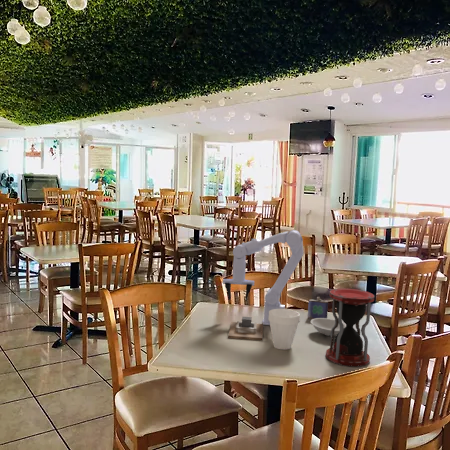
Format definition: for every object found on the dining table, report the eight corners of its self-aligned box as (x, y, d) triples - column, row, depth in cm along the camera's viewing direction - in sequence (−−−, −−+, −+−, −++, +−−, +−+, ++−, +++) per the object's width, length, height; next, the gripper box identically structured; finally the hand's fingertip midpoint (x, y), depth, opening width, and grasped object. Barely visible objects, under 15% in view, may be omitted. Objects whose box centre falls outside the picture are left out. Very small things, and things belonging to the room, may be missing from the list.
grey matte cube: (251, 328, 208) (251, 317, 207) (250, 331, 204) (251, 319, 203) (242, 327, 208) (242, 316, 208) (241, 330, 204) (241, 319, 204)
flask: (307, 318, 230) (308, 296, 229) (307, 316, 233) (309, 295, 232) (326, 320, 228) (328, 298, 227) (327, 319, 231) (328, 297, 230)
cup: (273, 353, 182) (275, 318, 181) (262, 342, 194) (264, 309, 193) (303, 351, 186) (305, 316, 184) (290, 340, 198) (292, 308, 196)
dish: (354, 340, 201) (355, 329, 200) (324, 343, 195) (325, 331, 195) (330, 327, 217) (331, 316, 217) (302, 330, 212) (303, 319, 211)
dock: (262, 326, 215) (263, 319, 215) (262, 340, 196) (262, 333, 196) (231, 324, 216) (231, 317, 216) (228, 338, 197) (228, 330, 197)
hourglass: (316, 357, 180) (321, 291, 178) (340, 347, 191) (344, 286, 189) (355, 370, 169) (360, 301, 166) (377, 359, 180) (382, 294, 178)
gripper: (222, 271, 218) (221, 300, 219) (254, 273, 216) (253, 302, 218) (224, 268, 225) (222, 297, 226) (255, 270, 223) (253, 299, 225)
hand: (237, 299), depth 222 cm, fingers open, 7 cm apart
